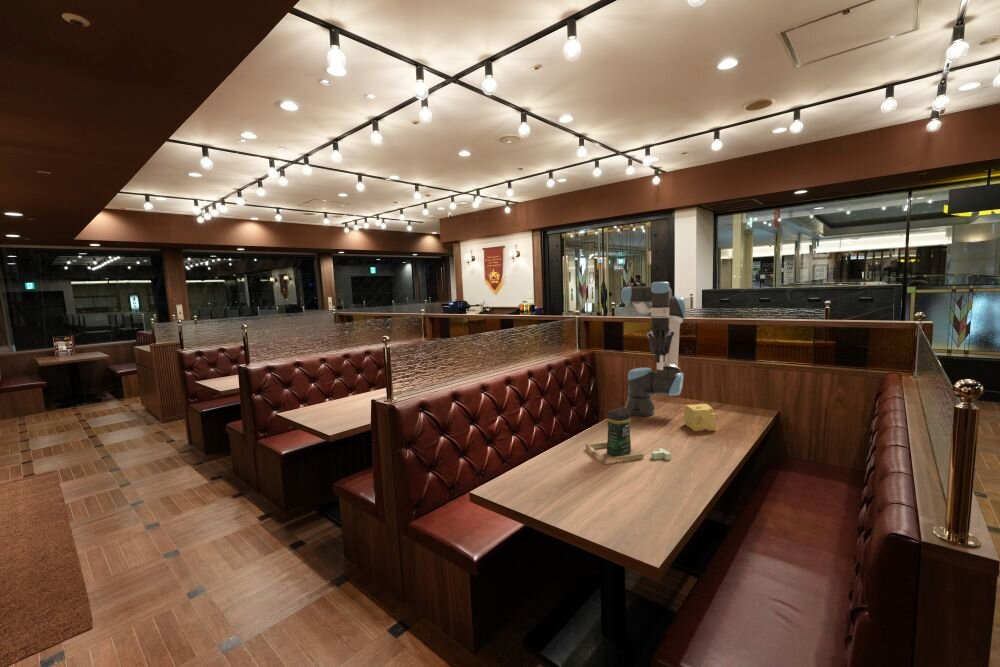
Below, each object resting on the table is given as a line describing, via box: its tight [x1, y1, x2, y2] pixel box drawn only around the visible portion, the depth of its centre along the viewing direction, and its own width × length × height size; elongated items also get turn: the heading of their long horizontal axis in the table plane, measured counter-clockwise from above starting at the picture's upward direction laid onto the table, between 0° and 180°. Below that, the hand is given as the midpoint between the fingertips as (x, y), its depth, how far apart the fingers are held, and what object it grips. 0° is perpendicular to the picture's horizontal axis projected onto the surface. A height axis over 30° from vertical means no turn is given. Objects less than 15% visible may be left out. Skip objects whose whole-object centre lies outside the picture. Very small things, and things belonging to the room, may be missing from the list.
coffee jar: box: [606, 406, 632, 457], centre depth 175 cm, size 10×8×19 cm
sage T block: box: [650, 447, 672, 461], centre depth 170 cm, size 6×6×2 cm
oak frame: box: [585, 441, 644, 465], centre depth 175 cm, size 16×17×2 cm
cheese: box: [683, 403, 717, 432], centre depth 201 cm, size 10×11×10 cm
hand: (659, 369), depth 193 cm, fingers closed
